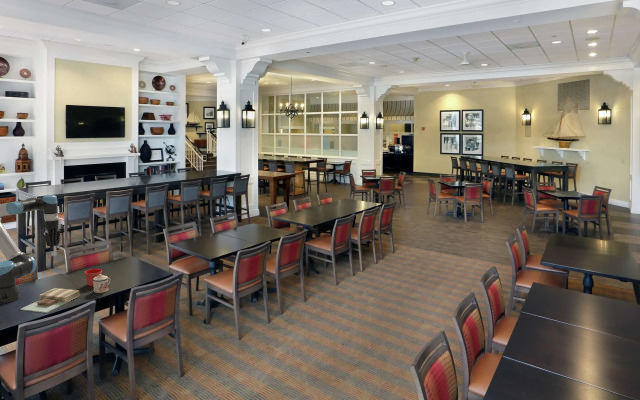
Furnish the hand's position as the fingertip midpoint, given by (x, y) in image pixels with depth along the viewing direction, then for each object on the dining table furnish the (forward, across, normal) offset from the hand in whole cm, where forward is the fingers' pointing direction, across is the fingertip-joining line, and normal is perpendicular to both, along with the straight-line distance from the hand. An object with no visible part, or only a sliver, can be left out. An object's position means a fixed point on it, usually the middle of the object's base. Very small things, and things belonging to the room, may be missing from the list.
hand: (54, 255), depth 263 cm
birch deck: (+26, -5, -7) cm, 28 cm away
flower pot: (+27, +22, -10) cm, 36 cm away
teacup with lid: (+27, +14, -23) cm, 38 cm away
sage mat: (+26, -18, -7) cm, 33 cm away
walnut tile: (+26, -15, -7) cm, 31 cm away
